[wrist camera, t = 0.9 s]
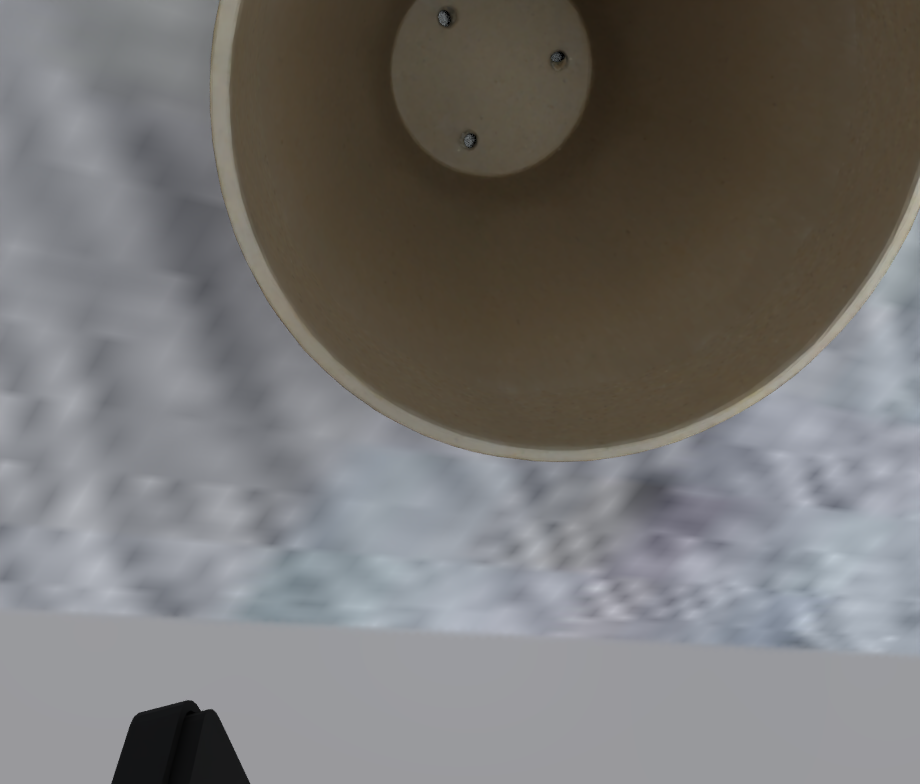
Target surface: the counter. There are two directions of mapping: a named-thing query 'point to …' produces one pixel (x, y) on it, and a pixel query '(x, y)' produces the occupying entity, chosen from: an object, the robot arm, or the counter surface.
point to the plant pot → (566, 201)
